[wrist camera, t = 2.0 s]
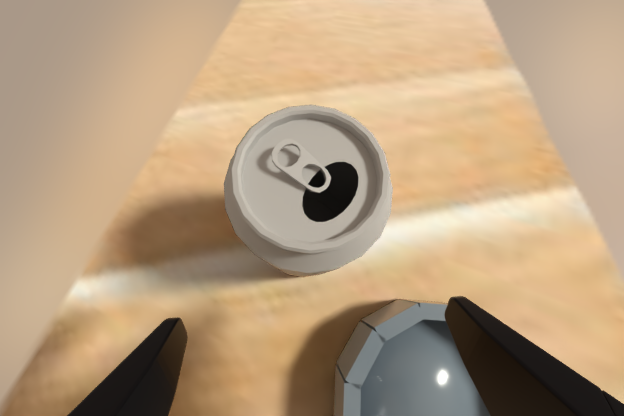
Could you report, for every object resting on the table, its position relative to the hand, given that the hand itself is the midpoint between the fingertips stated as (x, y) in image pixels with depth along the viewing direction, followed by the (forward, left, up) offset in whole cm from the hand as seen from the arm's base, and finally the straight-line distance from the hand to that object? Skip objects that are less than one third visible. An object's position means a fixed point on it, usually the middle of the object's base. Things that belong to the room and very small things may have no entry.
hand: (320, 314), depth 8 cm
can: (+4, +3, -12) cm, 13 cm away
